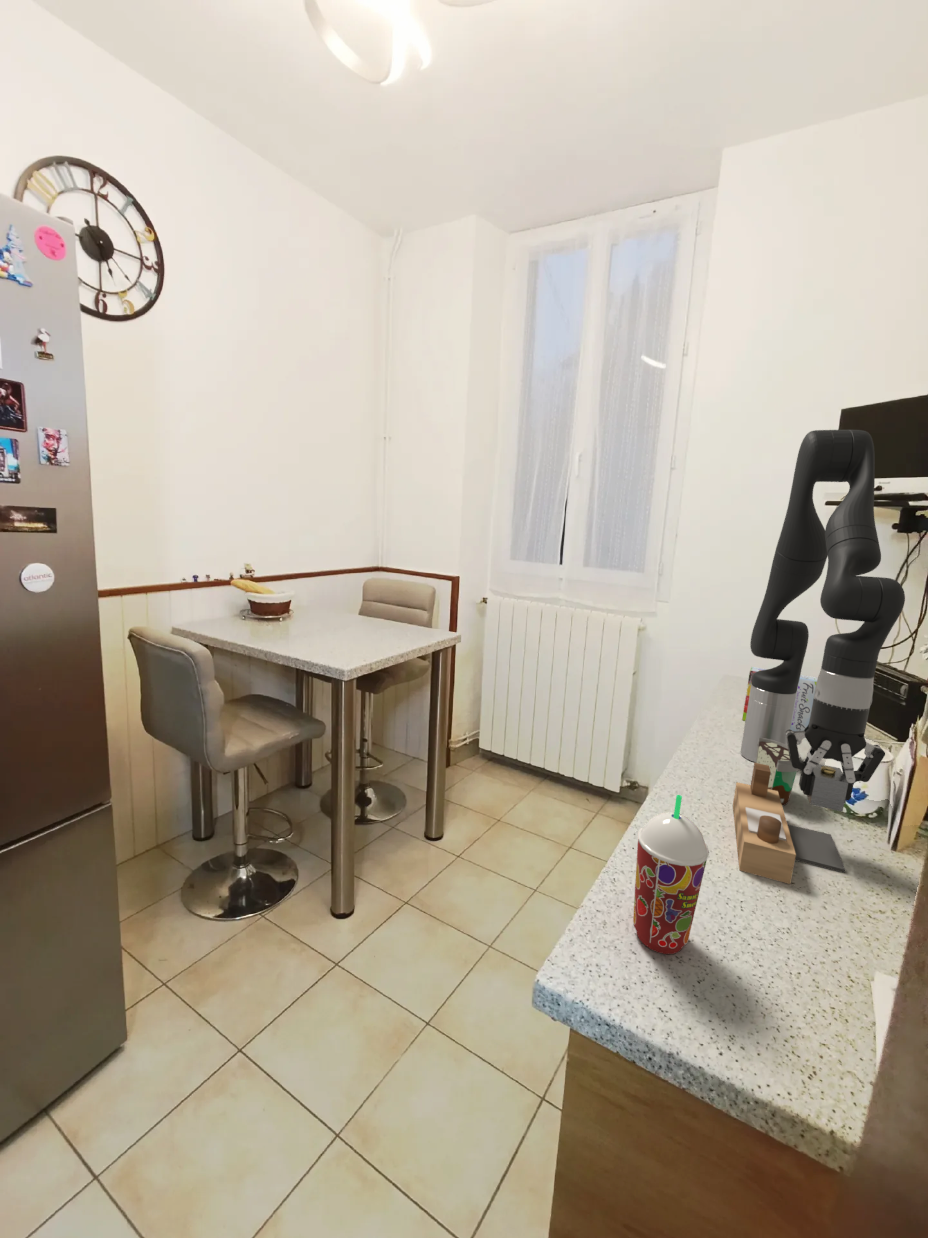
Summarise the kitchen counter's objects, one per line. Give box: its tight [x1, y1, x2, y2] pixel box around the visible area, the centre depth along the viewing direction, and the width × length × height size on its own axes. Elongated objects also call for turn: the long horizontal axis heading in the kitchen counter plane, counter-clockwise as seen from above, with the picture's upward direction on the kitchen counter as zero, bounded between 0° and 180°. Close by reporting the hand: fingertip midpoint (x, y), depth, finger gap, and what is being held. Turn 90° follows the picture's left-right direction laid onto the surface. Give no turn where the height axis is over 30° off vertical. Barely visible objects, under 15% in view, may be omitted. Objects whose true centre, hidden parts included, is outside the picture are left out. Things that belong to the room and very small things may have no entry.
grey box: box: [806, 763, 848, 813], centre depth 90 cm, size 6×4×6 cm
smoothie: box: [632, 794, 710, 955], centre depth 69 cm, size 8×8×20 cm
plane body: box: [732, 762, 796, 885], centre depth 93 cm, size 22×7×10 cm, turn 156°
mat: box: [787, 823, 846, 874], centre depth 92 cm, size 11×7×1 cm, turn 156°
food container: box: [755, 738, 803, 807], centre depth 109 cm, size 12×6×10 cm, turn 168°
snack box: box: [741, 666, 818, 731], centre depth 149 cm, size 21×6×15 cm, turn 58°
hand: (822, 796), depth 91 cm, fingers closed on grey box, 4 cm apart
